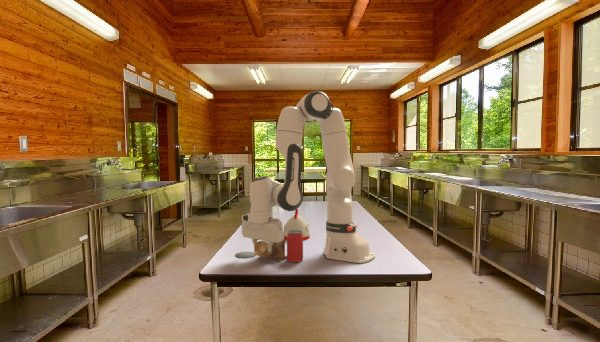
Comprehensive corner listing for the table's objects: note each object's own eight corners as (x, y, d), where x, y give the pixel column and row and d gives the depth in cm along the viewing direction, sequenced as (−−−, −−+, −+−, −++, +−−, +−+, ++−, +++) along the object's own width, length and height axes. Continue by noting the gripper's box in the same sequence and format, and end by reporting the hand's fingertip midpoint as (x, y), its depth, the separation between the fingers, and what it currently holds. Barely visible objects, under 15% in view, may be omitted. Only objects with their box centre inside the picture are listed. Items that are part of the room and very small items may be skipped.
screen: (287, 258, 142) (287, 234, 141) (279, 261, 138) (279, 237, 137) (268, 253, 149) (268, 231, 148) (260, 256, 145) (260, 233, 144)
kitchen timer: (310, 234, 184) (310, 207, 183) (308, 241, 170) (308, 211, 170) (285, 234, 185) (285, 207, 185) (281, 240, 172) (281, 211, 171)
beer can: (294, 257, 144) (294, 229, 143) (306, 260, 140) (306, 231, 139) (283, 260, 139) (283, 231, 138) (295, 264, 135) (295, 234, 134)
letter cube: (271, 253, 138) (271, 241, 138) (263, 257, 134) (263, 243, 134) (262, 252, 141) (262, 239, 141) (254, 255, 137) (253, 242, 137)
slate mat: (260, 254, 147) (260, 254, 147) (244, 259, 140) (244, 259, 140) (245, 250, 153) (245, 250, 153) (230, 255, 146) (230, 255, 146)
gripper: (286, 217, 133) (287, 252, 134) (249, 213, 145) (250, 245, 146) (276, 220, 128) (277, 256, 129) (238, 215, 140) (239, 248, 141)
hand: (262, 250), depth 138 cm, fingers closed on letter cube, 5 cm apart
